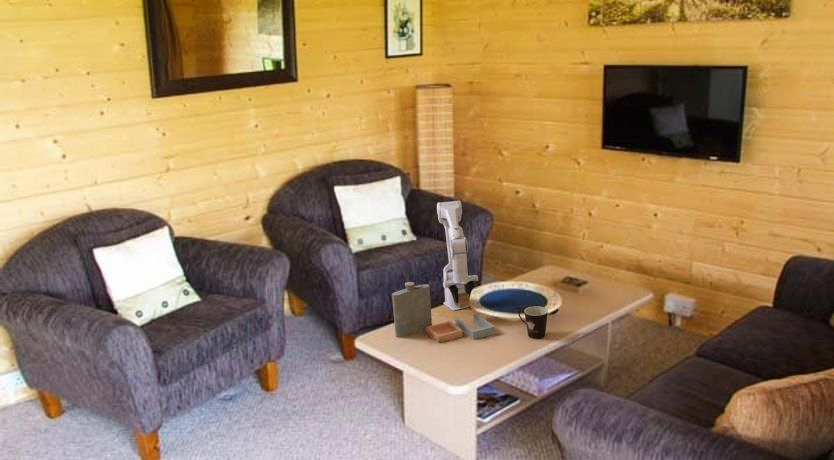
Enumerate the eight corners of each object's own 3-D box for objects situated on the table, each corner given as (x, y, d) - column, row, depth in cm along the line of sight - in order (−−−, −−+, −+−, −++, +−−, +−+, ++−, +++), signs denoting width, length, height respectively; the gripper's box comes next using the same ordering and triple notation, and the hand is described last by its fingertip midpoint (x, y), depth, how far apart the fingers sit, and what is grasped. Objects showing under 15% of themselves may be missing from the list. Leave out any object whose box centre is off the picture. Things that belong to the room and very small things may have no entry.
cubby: (455, 325, 301) (455, 318, 300) (476, 320, 305) (476, 313, 304) (473, 339, 288) (473, 332, 287) (495, 333, 292) (494, 326, 291)
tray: (426, 332, 296) (426, 327, 296) (450, 326, 300) (450, 320, 300) (438, 342, 287) (437, 336, 287) (462, 336, 291) (462, 330, 291)
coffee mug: (552, 337, 285) (552, 312, 282) (532, 342, 282) (531, 317, 279) (536, 325, 296) (536, 301, 293) (516, 330, 293) (516, 306, 290)
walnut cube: (454, 304, 304) (453, 293, 303) (464, 301, 306) (463, 291, 304) (459, 308, 300) (459, 297, 299) (469, 305, 302) (469, 294, 301)
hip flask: (397, 338, 294) (393, 289, 288) (393, 334, 297) (388, 286, 291) (433, 327, 301) (430, 279, 295) (428, 324, 304) (425, 277, 298)
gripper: (447, 275, 292) (449, 308, 296) (481, 267, 298) (482, 300, 302) (439, 270, 299) (441, 302, 303) (472, 262, 304) (474, 294, 308)
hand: (461, 301), depth 303 cm, fingers closed on walnut cube, 4 cm apart
